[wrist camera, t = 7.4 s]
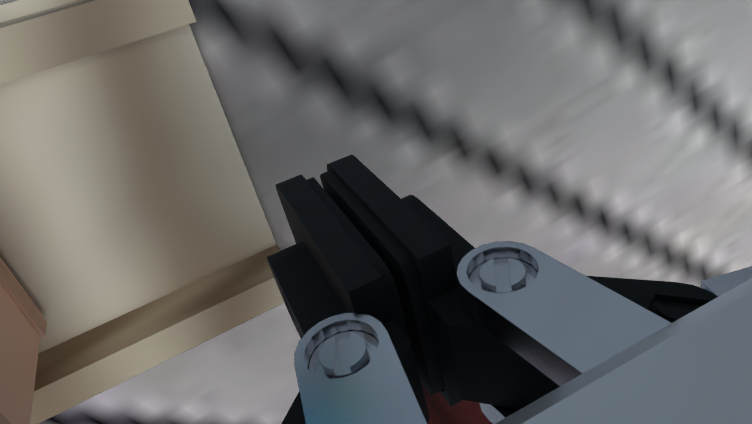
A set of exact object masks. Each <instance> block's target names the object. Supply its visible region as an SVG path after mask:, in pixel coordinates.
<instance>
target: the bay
mask: <svg viewBox="0 0 752 424" xmlns="http://www.w3.org/2000/svg"><path fill="white" fill-rule="evenodd" d="M194 22H197V21H196V19H195V16H194V14H193V11H192V9H191V6H190V3H189V1H188V0H14V1H10V2H6V3H3V4H0V258H1V259H2V260H3V262H4V263H5V264H6V266H7V267H8V269H9V270H10V271H11V273H12V274H13V275H14V277H15V278H16V279H17V281H18V282H19V284H20V285H21V286H22V288H23V289H24V290H25V292H26V293H27V294H28V296H29V297H30V298H31V300H32V301H33V303H34V304H35V305H36V307H37V308H38V309H39V311H40V312H41V313H42V315H43V318H44V319H45V321H46V322H47V326H46V335H45V337H43V338H41V339H40V343H39V352H38V360H37V369H36V377H35V386H34V394H33V403H32V411H31V420H30V424H38V423H40V422H43V421H45V420H47V419H49V418H51V417H53V416H55V415H57V414H59V413H61V412H63V411H65V410H67V409H69V408H71V407H73V406H75V405H77V404H79V403H81V402H83V401H85V400H87V399H89V398H91V397H93V396H95V395H97V394H99V393H101V392H103V391H106V390H108V389H110V388H112V387H114V386H116V385H118V384H120V383H122V382H124V381H126V380H128V379H130V378H132V377H134V376H136V375H138V374H140V373H142V372H144V371H146V370H148V369H150V368H152V367H154V366H156V365H158V364H160V363H162V362H164V361H167V360H169V359H171V358H173V357H175V356H177V355H179V354H181V353H183V352H185V351H187V350H189V349H191V348H193V347H195V346H197V345H199V344H201V343H203V342H205V341H207V340H209V339H211V338H213V337H215V336H217V335H219V334H221V333H223V332H225V331H227V330H230V329H232V328H234V327H236V326H238V325H240V324H242V323H244V322H246V321H248V320H250V319H252V318H254V317H256V316H258V315H260V314H262V313H264V312H266V311H268V310H270V309H272V308H274V307H276V306H278V305H280V304H282V303H284V300H283V298H282V295H281V293H280V291H279V288H278V286H277V283H276V281H275V278H274V276H273V274H272V271H271V269H270V266H269V264H268V261H267V258H266V257H267V256H270V255H272V254H274V253H277V252H279V251H280V249H279V248H278V246H277V244H276V242H275V239H274V237H273V234H272V232H271V229H270V227H269V224H268V222H267V219H266V217H265V214H264V212H263V209H262V207H261V204H260V202H259V199H258V197H257V194H256V192H255V189H254V187H253V184H252V181H251V179H250V176H249V174H248V171H247V169H246V166H245V164H244V161H243V159H242V156H241V154H240V151H239V149H238V146H237V144H236V141H235V139H234V136H233V134H232V131H231V129H230V126H229V123H228V121H227V118H226V116H225V113H224V111H223V108H222V106H221V103H220V101H219V98H218V96H217V93H216V91H215V88H214V86H213V83H212V81H211V78H210V76H209V73H208V71H207V68H206V65H205V63H204V60H203V58H202V55H201V53H200V50H199V48H198V45H197V43H196V40H195V38H194V35H193V33H192V30H191V28H190V25H189V24H191V23H194Z"/></svg>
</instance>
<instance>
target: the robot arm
mask: <svg viewBox="0 0 752 424" xmlns="http://www.w3.org/2000/svg"><path fill="white" fill-rule="evenodd" d="M327 171H328V172H325V173H323V174H320V178H321V182H322V185H323V188H324V189H323V188H322V187H321V185H320V184H319V183H318V182H317V181H316V179H315V178H314V177H313V178H310V179H308V180H305V178H304V177H303V176H302V175H299V176H296V177H294V178H291V179H289V180H286V181H284V182H281V183H279V184H276V189H277V192H278V195H279V198H280V200H281V203H282V206H283V209H284V211H285V214H286V217H287V220H288V222H289V225H290V228H291V231H292V233H293V236H294V239H295V242H296V244H295V245H293V246H291V247H288V248H286V249H284V250H281V251H279V252H277V253H274V254H272V255H270V256H267V257H266V258H267V261H268V264H269V266H270V269H271V271H272V274H273V276H274V278H275V281H276V283H277V286H278V288H279V291H280V293H281V295H282V298H283V300H284V302H285V305H286V307H287V309H288V311H289V314H290V316H291V318H292V320H293V323H294V325H295V327H296V329H297V331H298V333H299V335H300V337H301V340H300V341H299V343H298V346H297V348H296V351H295V353H294V366H295V371H296V376H297V381H298V386H299V393H298V395H297V397H296V398H295V400H294V402H293V404H292V406H291V407H290V409H289V411H288V413H287V415H286V417H285V418H284V420H283V422H282V424H428V422H429V419H430V416H429V412H428V408H427V404H426V400H425V396H424V392H423V388H422V384H423V385H424V387H425V388H426V390H427V391H428V392H429V393H430V394H431V395H434V394H436V393H438V392H440V393H441V394H442V396H443V397H444V398H445V400H446V401H447V403H448V404H449V405H450V407H451V406H453V405H455V404H457V403H459V402H461V401H462V400H467V401H472V402H478V403H479V404H480V408H481V411H482V412H483V413H484V415H485V416H486V417H487V418H488V420H489V421H490V422H491V423H493V424H752V266H751V267H748V268H744V269H741V270H737V271H734V272H731V273H727V274H724V275H720V276H717V277H714V278H710V279H707V280H703V281H701V287H697V286H694V285H689V284H683V283H677V282H664V281H650V280H636V279H622V278H608V277H594V276H585V275H583V274H581V273H579V272H578V271H576V270H574V269H572V268H570V267H568V266H567V265H565V264H563V263H561V262H559V261H558V260H556V259H554V258H552V257H550V256H548V255H547V254H545V253H543V252H541V251H539V250H537V249H536V248H534V247H531V246H529V245H526V244H523V243H518V242H512V241H500V242H492V243H488V244H484V245H481V246H479V247H477V248H474V247H473V246H472V245H471V244H470V243H468V242H467V241H466V240H465V239H464V238H463V237H462V236H460V235H459V234H458V233H457V232H456V231H455V230H453V229H452V228H451V227H450V226H449V225H448V224H447V223H445V222H444V221H443V220H442V219H441V218H440V217H438V216H437V215H436V214H435V213H434V212H433V211H432V210H430V209H429V208H428V207H427V206H426V205H425V204H424V203H422V202H421V201H420V200H419V199H418V198H416V197H415V196H413V195H409V196H407V197H404V198H402V199H400V198H399V197H398V196H397V195H396V194H395V193H394V192H393V191H392V190H391V189H389V188H388V187H387V186H386V185H385V184H384V183H383V182H382V181H381V180H380V179H379V178H377V177H376V176H375V175H374V174H373V173H372V172H371V171H370V170H369V169H368V168H367V167H366V166H364V165H363V164H362V163H361V162H360V161H359V160H358V159H357V158H356V157H355V156H353V155H349V156H347V157H344V158H342V159H339V160H337V161H334V162H332V163H329V164H327ZM421 382H422V384H421Z"/></svg>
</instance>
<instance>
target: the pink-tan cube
mask: <svg viewBox="0 0 752 424" xmlns="http://www.w3.org/2000/svg"><path fill="white" fill-rule="evenodd" d="M46 326H47V322H46V321H45V319H44V318H43V315H42V313H41V312H40V311H39V309H38V308H37V307H36V305H35V304H34V303H33V301H32V300H31V298H30V297H29V296H28V294H27V293H26V292H25V290H24V289H23V288H22V286H21V285H20V284H19V282H18V281H17V279H16V278H15V277H14V275H13V274H12V273H11V271H10V270H9V269H8V267H7V266H6V264H5V263H4V262H3V260H2V259H1V258H0V424H30V420H31V411H32V403H33V394H34V386H35V377H36V369H37V360H38V352H39V343H40V339H41V338H43V337H45V335H46Z"/></svg>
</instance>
